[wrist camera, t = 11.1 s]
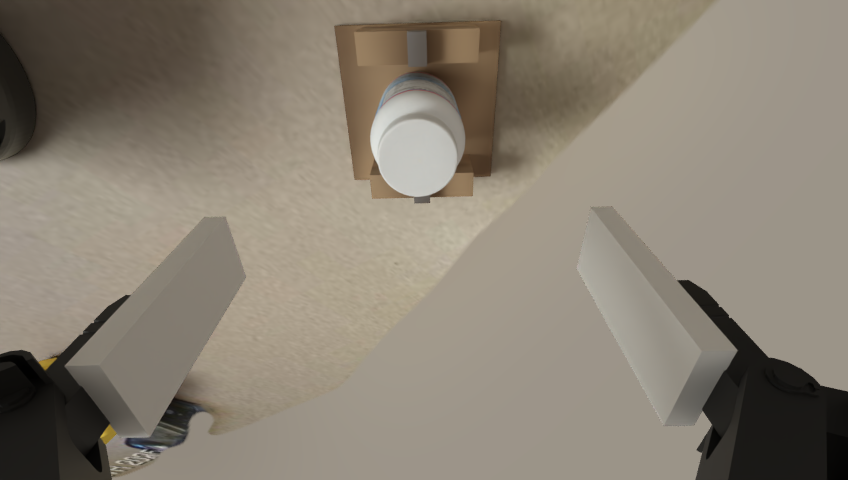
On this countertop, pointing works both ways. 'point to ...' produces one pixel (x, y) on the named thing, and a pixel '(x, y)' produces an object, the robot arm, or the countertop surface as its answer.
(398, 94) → the pill bottle
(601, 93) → the countertop surface
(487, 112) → the clip stand
